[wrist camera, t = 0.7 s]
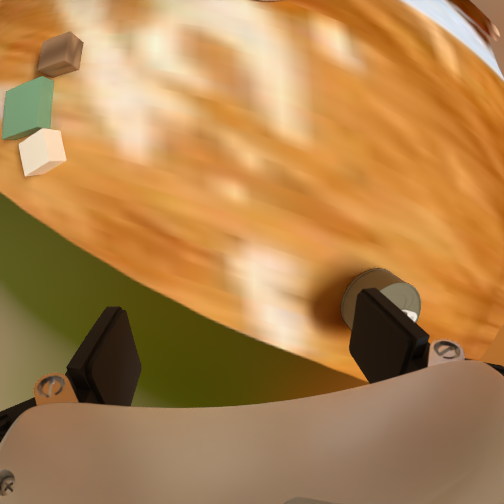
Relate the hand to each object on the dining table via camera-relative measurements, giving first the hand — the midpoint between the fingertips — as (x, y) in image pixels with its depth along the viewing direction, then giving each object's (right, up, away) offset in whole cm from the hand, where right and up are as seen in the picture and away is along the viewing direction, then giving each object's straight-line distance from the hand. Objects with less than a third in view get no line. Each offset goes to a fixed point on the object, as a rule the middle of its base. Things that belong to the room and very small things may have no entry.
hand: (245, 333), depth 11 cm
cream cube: (-30, +18, +21) cm, 41 cm away
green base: (-34, +25, +19) cm, 46 cm away
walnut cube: (-28, +32, +17) cm, 46 cm away
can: (+20, -5, +34) cm, 40 cm away
